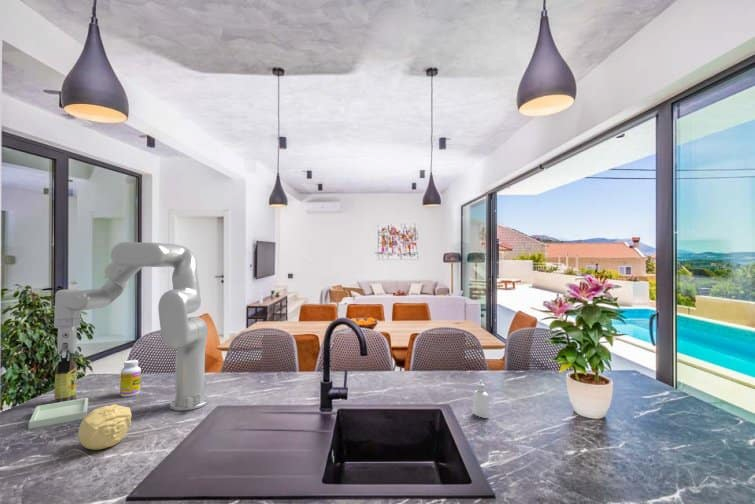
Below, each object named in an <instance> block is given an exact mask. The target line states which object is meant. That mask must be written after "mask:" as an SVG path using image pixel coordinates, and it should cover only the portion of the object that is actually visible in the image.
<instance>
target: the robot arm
mask: <svg viewBox="0 0 755 504" xmlns="http://www.w3.org/2000/svg"><path fill="white" fill-rule="evenodd" d="M110 258H111V262H110V263H109V264H108V265H106V267H105V268H104V274H105V276H106V278H108V280H107V281H106V282H105V283H104V284H103V285H102V286H100V287H99V288H91V289H89V288H88V289H74V288H73V289H72V288H71V289H69V288H68V289H58V290H57V291H56V293H55V297H54V298H55V300H54V319H53V320H54V321H53V323H54V324H53V328H54V329H57V355H59V361H58V363H59V364H58V363H57V364H58V373H62V372H69V371H70V360H69V357H70V353H72V354H73V355H74V354H76V351H77V339H78V338H77V337H78V336H77V333H78V332H77V331H78V330H77V329H78V327H80V326H81V315H82V314H81V313H82V311H90V310H94V309H95V310H96V309H103V308H105V307H107V306H109V305H111V304H112V303H113V302H114V301H116V300H117V299H118V298H119V297H120V296H121V295H122V294H123V293H124V290H125V288H126V285H127V282H128V281H129V280H130V279H131V278H132V277H134V276H135V275H136V274H137V273H138V272H140V270H141V269H143V268H144V267H146V268H147V267H150V268H166V267H167V268H169V267H172V268H173V271H172V276H171V281H172V289H169V290H167V291H166V292H164V293H163V294H162V295H161V297H160V299H159V301H158V307H157V308H158V316H159V317H158V319H159V326H160V328H159V329H160V335H161V339H162V342H163V344H164V345H165V346H166V347H167V348H169V349H172V350H176V353H175V379H174V380H175V381H174V382H175V383H174V399H173V400H172V401H171V402H170V403H169V408H170V409H171V410H173V411H178V412H179V411H180V412H181V411H190V410H191V411H192V410H196V409H199V408H202V407H204V406H206V405H207V404H208V403H209V397H208V396H206V395H205V366H206V365H205V363H206V345H207V339H208V331H209V328H208V325H207V323H206V321H205V320H204V319H203V318H201V317H198V316H190V317H188V315H189V314H193V313H195V312H196V311H198V310H199V309H200V307H201V301H202V299H201V292H200V284H199V278H198V276H199V275H198V264H197V259H196V255H195V254H194V252H193V251H191V250H190V249H189V248H188V247H185V246H184V245H180V244H175V243H164V242H162V243H161V242H139V241H138V242H137V241H136V242H134V241H121V242H118V243H117V244H116V245H114V246H113V247H112V248H111V251H110ZM67 347H68V348H67Z"/></svg>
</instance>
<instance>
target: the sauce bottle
mask: <svg viewBox="0 0 755 504" xmlns="http://www.w3.org/2000/svg"><path fill="white" fill-rule="evenodd" d="M67 348H68V347H67ZM69 360H70V371H69V372H62V373H58V364H59V362H58V363H57V364H56V366H55V373H54V389H53V390H54V391H53V392H54V393H53V395H54V400H53V401H54V402H53V403H59V402H65V401H71V400H76V397H77V396H76V395H77V378H78V377H77V376H78V375H77V374H78V366H77V363H76V361H75V360H74V354H72V353H70V357H69Z"/></svg>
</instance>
